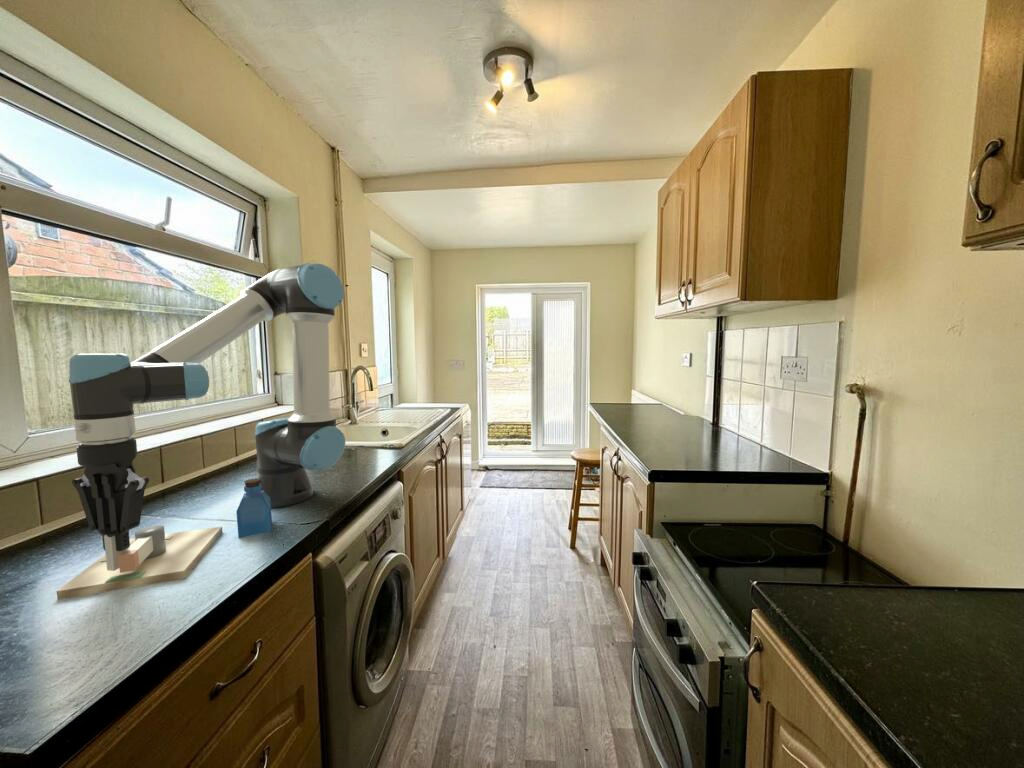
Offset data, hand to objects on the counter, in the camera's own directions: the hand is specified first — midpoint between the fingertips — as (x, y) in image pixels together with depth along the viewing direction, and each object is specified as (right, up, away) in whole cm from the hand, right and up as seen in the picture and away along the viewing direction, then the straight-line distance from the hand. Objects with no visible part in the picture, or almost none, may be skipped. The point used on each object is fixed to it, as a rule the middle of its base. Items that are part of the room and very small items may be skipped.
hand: (118, 566), depth 73 cm
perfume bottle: (+11, -1, +21) cm, 24 cm away
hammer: (+1, -1, +4) cm, 4 cm away
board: (-1, -2, +8) cm, 8 cm away
